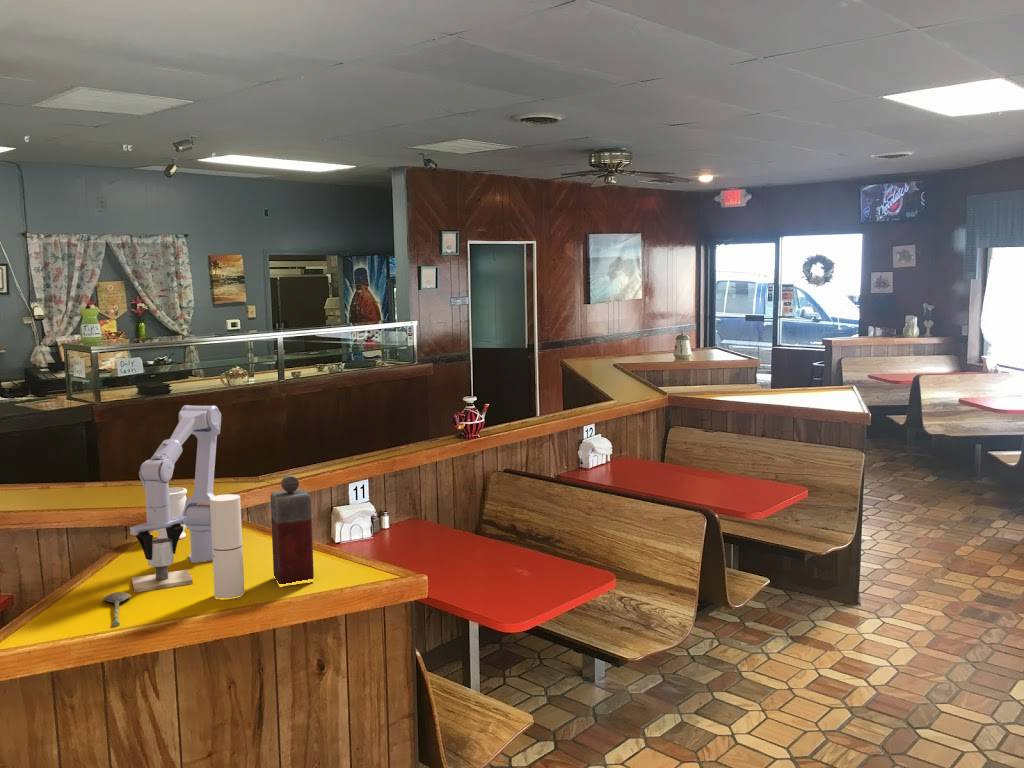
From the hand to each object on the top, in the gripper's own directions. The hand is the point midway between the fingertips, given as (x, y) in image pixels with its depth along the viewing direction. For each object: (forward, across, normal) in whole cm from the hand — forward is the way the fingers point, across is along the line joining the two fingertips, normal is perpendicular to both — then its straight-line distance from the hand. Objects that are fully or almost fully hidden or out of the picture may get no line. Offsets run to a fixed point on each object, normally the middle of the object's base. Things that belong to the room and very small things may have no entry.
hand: (160, 556), depth 226 cm
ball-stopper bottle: (+7, -23, +25) cm, 35 cm away
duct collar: (+2, 0, 0) cm, 2 cm away
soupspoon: (+8, +17, +11) cm, 22 cm away
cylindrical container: (+7, -6, +23) cm, 25 cm away
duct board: (+7, 0, 0) cm, 7 cm away
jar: (+7, -24, -39) cm, 46 cm away
